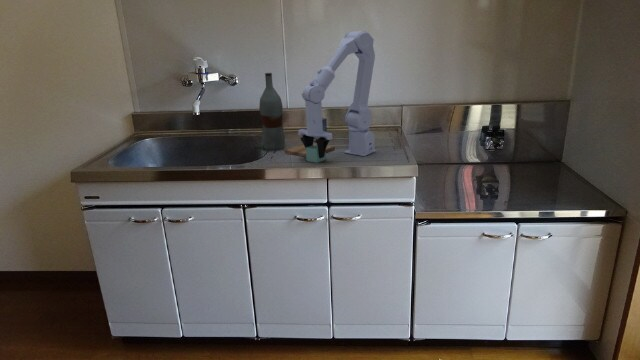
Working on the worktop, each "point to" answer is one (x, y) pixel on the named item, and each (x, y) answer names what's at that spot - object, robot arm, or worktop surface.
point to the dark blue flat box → (324, 125)
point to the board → (304, 150)
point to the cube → (313, 154)
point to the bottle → (271, 117)
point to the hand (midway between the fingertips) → (315, 156)
